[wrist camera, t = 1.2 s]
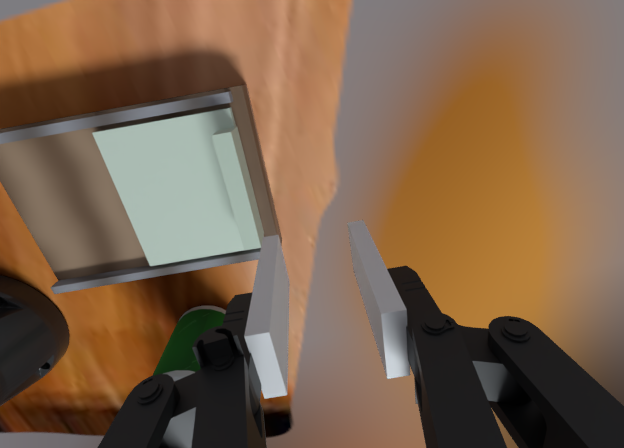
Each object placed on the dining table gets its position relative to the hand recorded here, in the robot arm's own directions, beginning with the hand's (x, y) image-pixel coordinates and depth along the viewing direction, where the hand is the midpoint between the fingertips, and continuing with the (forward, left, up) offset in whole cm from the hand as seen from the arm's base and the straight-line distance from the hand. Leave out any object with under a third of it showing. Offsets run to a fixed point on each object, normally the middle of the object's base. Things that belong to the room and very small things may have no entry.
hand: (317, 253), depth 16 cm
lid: (-11, 0, -15) cm, 19 cm away
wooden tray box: (-15, 0, -19) cm, 24 cm away
